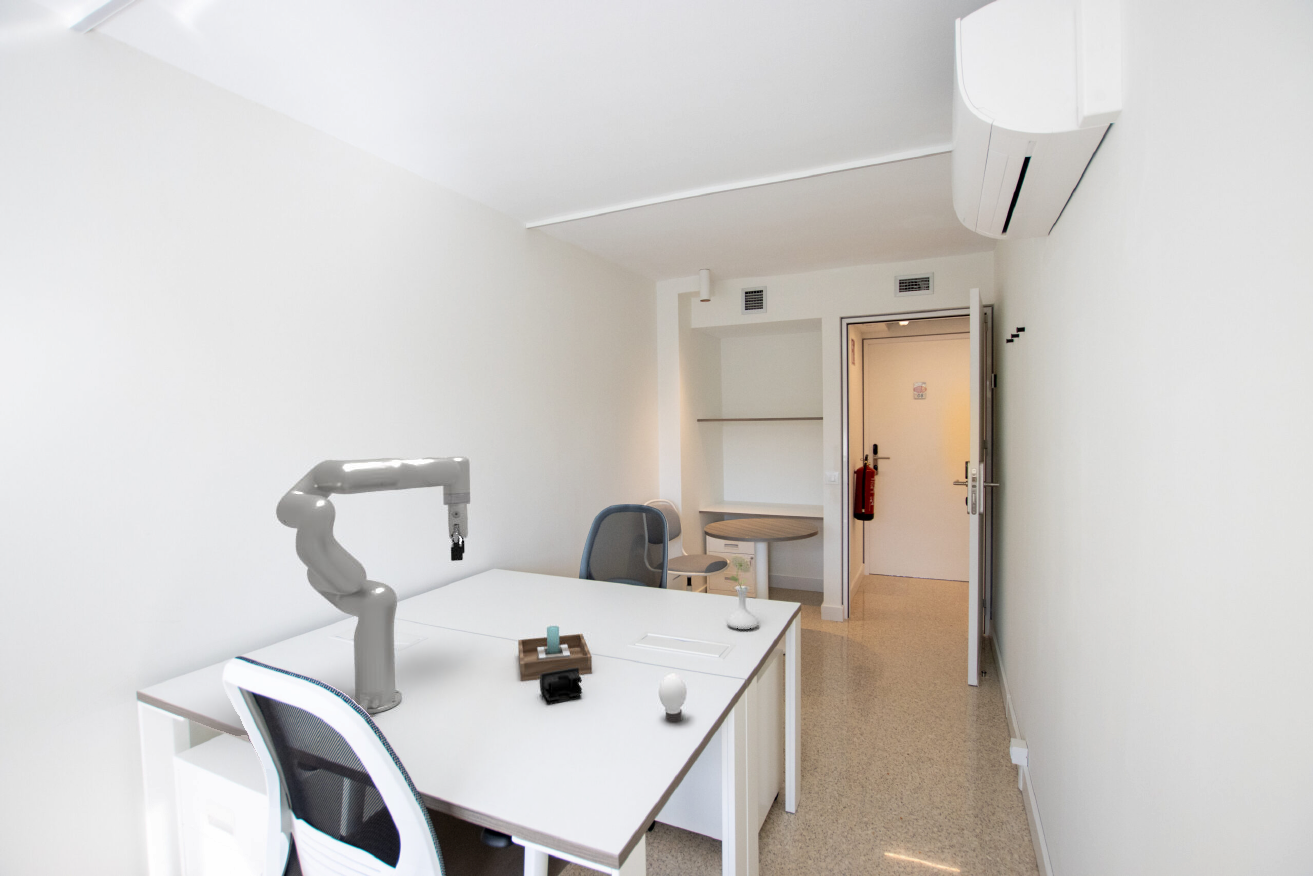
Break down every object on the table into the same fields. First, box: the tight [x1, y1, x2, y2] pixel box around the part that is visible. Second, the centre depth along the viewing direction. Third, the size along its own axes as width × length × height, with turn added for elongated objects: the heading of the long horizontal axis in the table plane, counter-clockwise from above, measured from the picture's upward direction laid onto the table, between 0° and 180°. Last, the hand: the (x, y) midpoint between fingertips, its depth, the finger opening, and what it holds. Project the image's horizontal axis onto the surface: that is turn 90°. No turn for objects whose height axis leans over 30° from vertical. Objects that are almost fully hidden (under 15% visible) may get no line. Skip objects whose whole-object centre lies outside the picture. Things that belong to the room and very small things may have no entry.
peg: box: [546, 625, 560, 655], centre depth 188 cm, size 4×4×10 cm
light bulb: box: [658, 672, 687, 723], centre depth 152 cm, size 7×7×11 cm
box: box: [517, 633, 593, 682], centre depth 188 cm, size 20×20×5 cm
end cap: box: [539, 667, 583, 706], centre depth 165 cm, size 10×7×7 cm
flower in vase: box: [725, 554, 760, 630], centre depth 220 cm, size 13×11×25 cm
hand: (458, 556), depth 184 cm, fingers open, 9 cm apart
